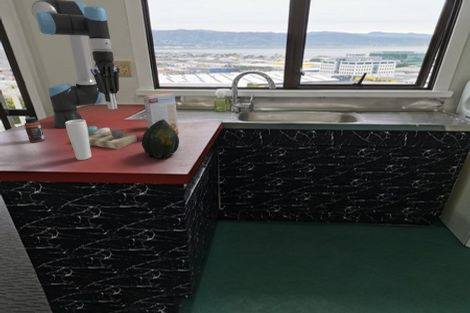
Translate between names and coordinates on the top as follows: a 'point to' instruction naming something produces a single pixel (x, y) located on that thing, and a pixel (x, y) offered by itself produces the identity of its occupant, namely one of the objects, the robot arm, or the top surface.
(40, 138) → the supplement bottle
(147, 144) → the squash
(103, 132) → the white button
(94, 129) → the teal button
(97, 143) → the button panel
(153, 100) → the cracker box
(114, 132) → the grey button
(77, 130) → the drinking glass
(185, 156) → the top surface
